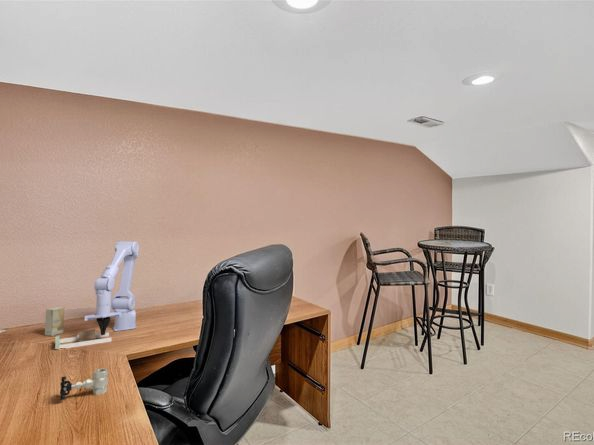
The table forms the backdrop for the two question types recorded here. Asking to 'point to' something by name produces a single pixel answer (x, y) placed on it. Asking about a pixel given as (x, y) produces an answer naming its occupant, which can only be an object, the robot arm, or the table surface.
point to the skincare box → (54, 321)
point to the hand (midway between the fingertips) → (102, 334)
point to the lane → (58, 341)
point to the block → (86, 335)
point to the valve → (87, 383)
